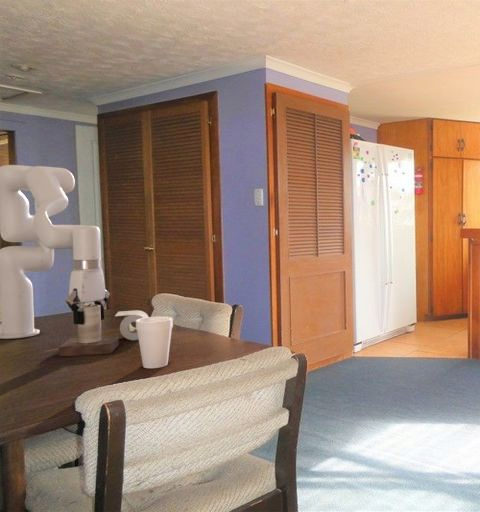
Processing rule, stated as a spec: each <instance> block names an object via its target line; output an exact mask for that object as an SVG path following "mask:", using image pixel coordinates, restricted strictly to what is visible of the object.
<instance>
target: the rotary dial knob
mask: <svg viewBox="0 0 480 512" xmlns="http://www.w3.org/2000/svg"><path fill="white" fill-rule="evenodd" d="M82 311H83V312H84V324H82V325H79V324H77V338H78V342H79V343H93V342H98V341H101V340H102V339H101V337H102V320H101V306H100V305H96V304H95V303H94V304H93V303H88V304H84V306H83V308H82Z"/></svg>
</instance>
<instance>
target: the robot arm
mask: <svg viewBox="0 0 480 512" xmlns="http://www.w3.org/2000/svg"><path fill="white" fill-rule="evenodd" d="M75 186H76V180H75V177H74V175H73V173H72V172H71V171H70V170H68V169H67V168H64V167H55V166H45V165H35V166H31V165H22V164H6V165H5V164H4V165H1V166H0V237H1V239H2V240H3V241H5V242H8V243H34V245H11V246H5V247H2V248H0V322H1V323H0V339H2V340H8V339H9V340H12V339H23V338H29V337H33V336H37V335H39V334H41V332H40V331H41V330H40V329H39V328H35V313H34V312H35V310H34V308H35V307H34V289H33V288H34V285H33V283H32V281H31V280H30V279H29V278H28V276H27V275H26V274H27V273H28V274H29V273H39V272H46V271H50V270H51V269H52V267H53V266H54V263H55V262H54V261H55V250H72V260H73V270H71V273H70V276H69V277H70V278H69V285H68V286H69V287H68V289H69V290H68V296H67V297H66V299H65V300H64V301H65V303H66V304H67V306H68V307H69V309H70V310H71V312H73V316H72V317H73V324H74V325H78V324H79V325H82V324H84V312H83V311H82V308H83V306H84V305H85V304H87V303H88V304H89V303H94V304H96V305H100V306H101V321H103V320H105V307H106V304H107V302H108V300H109V297H110V296H111V293H110V292H109V291H108V290H107V289H106V284H105V276H104V271H103V269H102V264H103V262H102V247H101V242H102V241H101V230H100V227H98V226H97V225H83V224H52V223H53V222H52V221H51V219H49V218H50V217H53V216H55V215H57V214H60V213H61V212H63V211H65V210H66V209H67V207H68V205H69V198H68V196H67V194H68V193H71V192H72V191H73V190H74V189H75ZM22 191H27V192H30V193H31V194H32V197H33V199H34V201H35V203H36V204H37V206H38V208H37V209H36V210H35V213H34V215H33V214H30V202H29V200H28V199H27V197H26V196H25V194H24V193H23V192H22Z"/></svg>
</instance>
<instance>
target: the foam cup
mask: <svg viewBox="0 0 480 512" xmlns="http://www.w3.org/2000/svg"><path fill="white" fill-rule="evenodd" d="M173 323H174V319H173V317H170V316H149V317H147V318H141V319H138V320H136V322H135V328H136V330H137V333H138V345H139V350H140V356H141V357H140V358H141V362H142V367H143V368H145V369H158V368H163V367H166V366H168V362H169V355H170V347H171V338H172V329H173V326H174V324H173Z"/></svg>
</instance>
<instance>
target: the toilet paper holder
mask: <svg viewBox="0 0 480 512" xmlns="http://www.w3.org/2000/svg"><path fill="white" fill-rule="evenodd" d="M121 316H122V317H123V316H124V317H123V319H122V320H121V322H120V323H119V332H120V334H121V336H122V337H123V338H124V339H127V340H128V341H139V339H138V333H137V330H136V327H134V326H133V325H132V323H136V320H138V319H141V318H147V317H150V316H149V315H148V314H147V313H146V312H145V311H143V310H138V309H136V310H122V311H117V313H116V314H115V315H114V317H121Z"/></svg>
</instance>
